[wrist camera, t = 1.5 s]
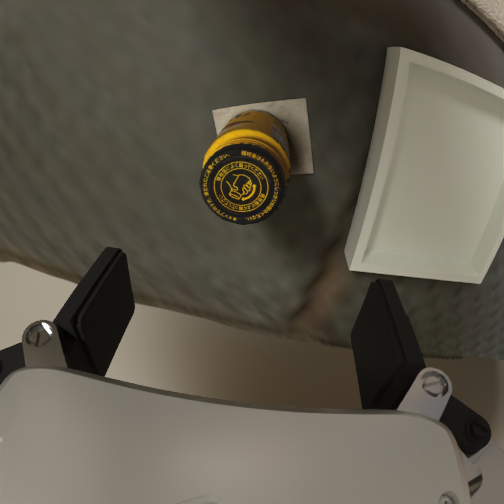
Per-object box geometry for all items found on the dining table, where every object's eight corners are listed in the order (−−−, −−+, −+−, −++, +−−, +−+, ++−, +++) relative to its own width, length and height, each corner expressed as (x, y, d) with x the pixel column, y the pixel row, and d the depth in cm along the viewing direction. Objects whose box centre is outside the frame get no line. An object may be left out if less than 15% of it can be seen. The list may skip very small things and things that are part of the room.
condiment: (212, 110, 27) (174, 143, 18) (305, 97, 26) (323, 122, 16) (226, 181, 31) (201, 248, 22) (313, 171, 30) (330, 236, 20)
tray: (387, 47, 22) (400, 46, 20) (525, 104, 22) (544, 112, 19) (343, 250, 35) (349, 270, 32) (469, 266, 35) (480, 283, 32)
